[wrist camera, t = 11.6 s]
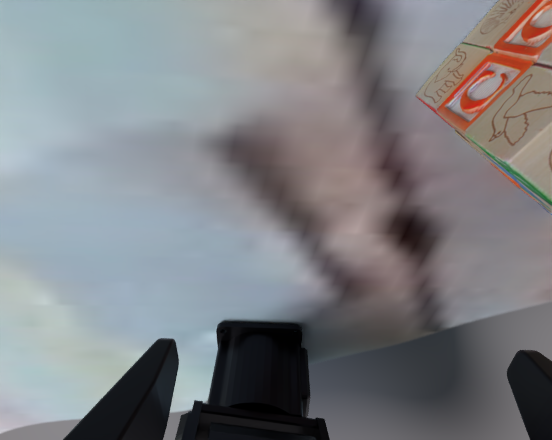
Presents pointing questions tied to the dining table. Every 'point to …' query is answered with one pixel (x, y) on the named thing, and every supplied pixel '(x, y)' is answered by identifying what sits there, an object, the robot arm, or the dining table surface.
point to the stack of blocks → (503, 93)
